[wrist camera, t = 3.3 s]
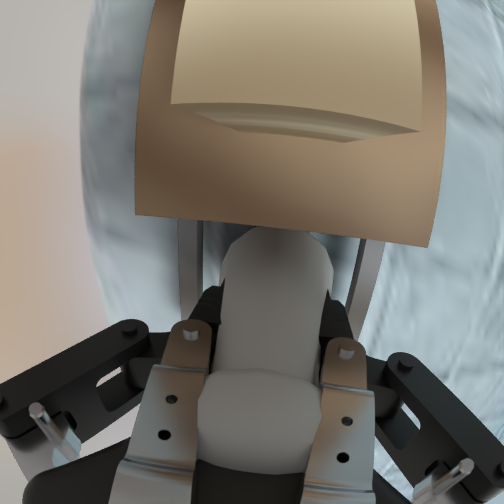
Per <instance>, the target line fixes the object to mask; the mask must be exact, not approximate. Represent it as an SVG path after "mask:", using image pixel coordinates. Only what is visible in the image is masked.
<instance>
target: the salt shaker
mask: <svg viewBox="0 0 504 504" xmlns="http://www.w3.org/2000/svg"><path fill="white" fill-rule="evenodd" d="M333 274H334V270H333V267H332V264H331V261H330V259H329V256H328V253H327V250H326V248H325V247H324V246H323V245H322V244H321V243H320V242H318V241H317V240H316V239H315V238H314V237H312V236H311V235H310V234H309V233H308V232H306V231H299V230H290V229H282V228H273V227H263V226H259V227H254V228H252V229H251V230H249V231H248V232H247V233H245V234H244V235H242V236H241V237H240V238H238V239H237V240H235V241H234V242H233V243H231V245H230V247H229V249H228V251H227V254H226V256H225V258H224V260H223V262H222V264H221V270H220V279H219V287H220V286H221V284H222V282H223V280H224V278H225V285H224V293H223V300H222V308H221V316H220V317H221V323H222V324H221V325H219V328H218V333H217V340H216V346H215V351H214V355H213V359H212V362H211V373H210V375H208V376H206V377H205V380H204V385H203V391H202V393H201V395H200V397H199V399H198V421H197V427H198V428H199V459H201V460H203V461H206V462H208V463H210V464H213V465H216V466H220V467H224V468H228V469H233V470H238V471H244V472H252V473H261V474H273V475H278V474H290V473H300V472H303V469H304V467H305V464H306V461H307V459H308V456H309V453H310V450H311V447H312V444H313V441H314V436H315V434H316V431H317V428H318V426H319V423H320V420H321V417H322V414H321V409H320V404H321V396H322V390H321V389H320V388H318V387H319V368H320V363H321V346H320V343H319V330H320V323H321V317H322V311H323V307H324V302H325V298H326V294H327V289H328V290H329V294H330V298H331V292H332V283H333Z"/></svg>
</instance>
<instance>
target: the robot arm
mask: <svg viewBox="0 0 504 504" xmlns="http://www.w3.org/2000/svg"><path fill="white" fill-rule="evenodd" d="M224 285H225V278H224V280H223V282H222V284H221V286H220V287H219V286H211V287H209V288H208V289H206V290H205V291H204V292H203V294H202V296H201V298H200V299H199V301H198V304H196V306H195V308H194V309H193V311H192V313H191V314H190V316H189V318H188V319H187V320H182V321H180V322H178V323H176V324H175V325H174V326H173V327H172V329H171V332H162V333H149V329H148V326H147V325H146V324H145V323H144V322H142V321H140V320H136V319H127V320H123V321H120V322H118V323H116V324H114V325H112V326H110V327H108V328H107V329H104V330H103V331H101V332H99V333H97V334H95V335H93V336H91V337H89V338H87V339H85V340H84V341H82V342H80V343H78V344H76V345H74V346H72V347H70V348H68V349H66V350H64V351H62V352H61V353H59V354H57V355H55V356H53V357H51V358H49V359H47V360H45V361H43V362H41V363H40V364H38V365H36V366H34V367H32V368H30V369H28V370H26V371H24V372H22V373H21V374H19V375H17V376H15V377H13V378H11V379H9V380H7V381H6V382H3V383H1V384H0V435H1V436H2V437H3V438H4V439H5V440H6V441H7V443H8V445H9V448H10V450H11V452H12V453H13V456H14V457H15V459H16V461H17V463H18V465H19V467H20V468H21V470H22V472H23V474H24V475H25V477H26V479H27V480H28V482H29V483H28V484H27V486H26V488H25V490H24V493H23V499H22V500H23V501H22V502H23V504H485V503H486V502H488V501H489V500H491V499H492V498H494V497H495V496H497V495H498V494H500V493H501V492H502V491H504V446H503V445H502V444H501V443H500V441H499V440H498V439H497V438H496V437H495V436H494V435H493V434H492V433H491V432H490V431H489V430H488V429H487V428H486V427H485V425H484V424H483V423H482V422H481V421H480V420H479V419H478V418H477V417H476V416H475V415H474V414H473V413H472V412H471V411H470V410H469V409H468V408H467V407H466V406H465V405H464V404H463V403H462V402H461V401H460V400H459V399H458V398H457V397H456V396H455V395H454V394H453V393H452V392H451V391H450V390H449V389H448V388H447V387H446V386H445V385H444V384H443V383H442V382H441V381H440V380H439V379H438V378H437V377H436V376H435V375H434V374H433V373H432V372H431V371H430V370H429V369H428V368H427V367H426V366H425V365H424V364H423V363H421V362H420V361H419V360H418V359H417V358H416V357H414V356H413V355H411V354H408V353H404V352H397V353H393V354H391V355H390V356H389V358H388V360H387V361H383V360H379V359H375V358H372V357H369V356H367V355H366V351H365V348H364V347H363V346H362V345H361V344H360V343H359V342H357V341H356V340H354V337H353V333H352V330H351V326H350V323H349V319H348V316H347V313H346V309H345V307H344V306H343V305H342V304H341V303H340V302H339V301H338V300H331V298H330V294H329V290H328V289H327V294H326V298H325V302H324V307H323V311H322V317H321V323H320V330H319V343H320V346H321V363H320V368H319V387H318V388H320V389H321V390H322V396H321V404H320V409H321V414H322V417H321V420H320V423H319V426H318V428H317V431H316V434H315V436H314V441H313V444H312V447H311V450H310V453H309V456H308V459H307V461H306V464H305V467H304V469H303V472H300V473H290V474H278V475H273V474H261V473H252V472H244V471H238V470H233V469H228V468H224V467H220V466H216V465H213V464H210V463H208V462H206V461H203V460H201V459H199V428H198V427H197V421H198V399H199V397H200V395H201V393H202V391H203V385H204V380H205V377H206V376H208V375H210V373H211V362H212V359H213V355H214V351H215V346H216V340H217V333H218V328H219V325H221V324H222V323H221V317H220V316H221V308H222V300H223V293H224ZM118 367H120V368H121V371H122V372H120V373H119V374H117V375H116V376H114V377H112V378H111V379H109V380H108V381H106V382H104V383H103V384H101V385H100V386H98V387H96V385H97V383H98V381H99V380H100V379H101V378H102V377H104V376H105V375H107V374H109V373H110V372H112V371H113V370H115V369H117V368H118ZM140 403H141V404H140ZM404 403H405V404H406V405H407V406H408V408H409V409H410V410H411V411H412V412H413V413H414V414H415V416H416V417H417V418H418V419H419V421H420V430H419V429H418V427H417V426H416V425H415V424H414V423H413V422H412V420H411V419H410V418H409V417H408V416H407V414H406V413H405V412H404V411H403V410H402V409H401V407H402V405H403V404H404ZM138 404H140V407H139V411H138V414H137V417H136V421H135V424H134V428H133V432H132V435H131V437H129V438H127V439H125V440H122V441H120V442H118V443H116V444H114V445H112V446H109V447H107V448H104V449H102V450H100V451H97V452H95V453H93V454H90V455H88V456H85V457H83V458H80V459H79V457H80V455H79V453H80V450H81V444H82V443H84V442H85V441H87V440H88V439H90V438H91V437H93V436H94V435H96V434H97V433H99V432H100V431H102V430H103V429H104V428H106V427H107V426H109V425H110V424H112V423H113V422H115V421H116V420H117V419H119V418H120V417H122V416H123V415H124V414H126V413H127V412H129V411H130V410H131V409H133V408H134V407H135V406H137V405H138ZM375 436H376V438H377V439H378V440H379V442H380V443H381V444H382V446H383V447H384V449H385V450H386V451H387V453H388V454H389V455H390V457H391V458H392V460H393V461H394V462H395V464H396V465H397V466H398V468H399V469H400V470H401V472H402V473H403V475H404V476H405V477H406V479H407V480H408V481H409V483H410V484H411V485H412V487H413V488H414V490H413V498H412V500H411V502H410V501H409V500H408V499H407V498H405V497H404V496H403V495H402V494H401V493H400V492H398V491H397V490H396V489H395V488H394V487H393V486H392V485H391V484H389V483H388V482H387V481H386V480H385V479H384V478H383V477H382V476H381V475H380V474H379V473H377V472H376V471H375V470H374V469H373V464H374V442H375Z"/></svg>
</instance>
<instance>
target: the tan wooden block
mask: <svg viewBox="0 0 504 504" xmlns="http://www.w3.org/2000/svg"><path fill="white" fill-rule="evenodd" d="M445 134H446V71H445V58H444V48H443V40H442V32H441V26H440V20H439V14H438V9H437V4H436V0H155V4H154V8H153V13H152V17H151V22H150V26H149V31H148V37H147V42H146V48H145V54H144V60H143V67H142V74H141V82H140V91H139V100H138V112H137V125H136V144H135V215H144V216H157V217H169V218H178V261H179V287H180V305H181V320H187V319H188V318H189V316H190V314H191V313H192V311H193V309H194V308H195V306H196V304H198V301H199V299H200V298H201V296H202V294H203V220H204V221H214V222H225V223H235V224H245V225H254V226H263V227H273V228H282V229H290V230H299V231H307V232H316V233H324V234H332V235H340V236H347V237H355V238H361V239H360V244H359V249H358V254H357V259H356V263H355V268H354V272H353V276H352V281H351V285H350V289H349V293H348V297H347V301H346V305H345V309H346V313H347V316H348V319H349V323H350V326H351V330H352V333H353V337H354V340H356V341H358V338H359V335H360V332H361V329H362V326H363V323H364V320H365V317H366V314H367V311H368V307H369V304H370V301H371V297H372V294H373V290H374V287H375V283H376V279H377V276H378V272H379V268H380V264H381V260H382V255H383V251H384V247H385V242H391V243H398V244H405V245H411V246H418V247H424V248H428V244H429V240H430V236H431V232H432V227H433V222H434V218H435V213H436V207H437V202H438V196H439V190H440V183H441V176H442V168H443V159H444V148H445Z"/></svg>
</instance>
